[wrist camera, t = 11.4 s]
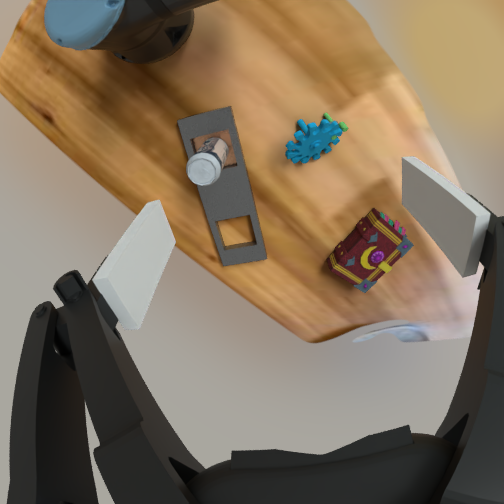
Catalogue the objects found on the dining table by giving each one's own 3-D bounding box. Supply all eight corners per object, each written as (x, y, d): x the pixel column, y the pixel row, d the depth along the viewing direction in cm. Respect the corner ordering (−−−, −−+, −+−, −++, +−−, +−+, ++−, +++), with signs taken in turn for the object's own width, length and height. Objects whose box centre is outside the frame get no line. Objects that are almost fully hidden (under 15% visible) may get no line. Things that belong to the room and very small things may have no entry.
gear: (293, 174, 47) (284, 144, 38) (278, 148, 49) (266, 116, 39) (348, 148, 45) (351, 114, 36) (331, 124, 47) (330, 89, 37)
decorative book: (324, 257, 59) (329, 272, 55) (376, 200, 51) (385, 212, 47) (360, 280, 62) (365, 295, 58) (409, 230, 54) (418, 243, 50)
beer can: (212, 131, 45) (198, 147, 35) (234, 148, 46) (227, 169, 36) (195, 152, 47) (177, 174, 37) (216, 168, 48) (205, 195, 38)
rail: (179, 119, 43) (177, 120, 42) (231, 105, 42) (230, 106, 41) (224, 261, 60) (223, 266, 58) (266, 254, 58) (267, 259, 57)
